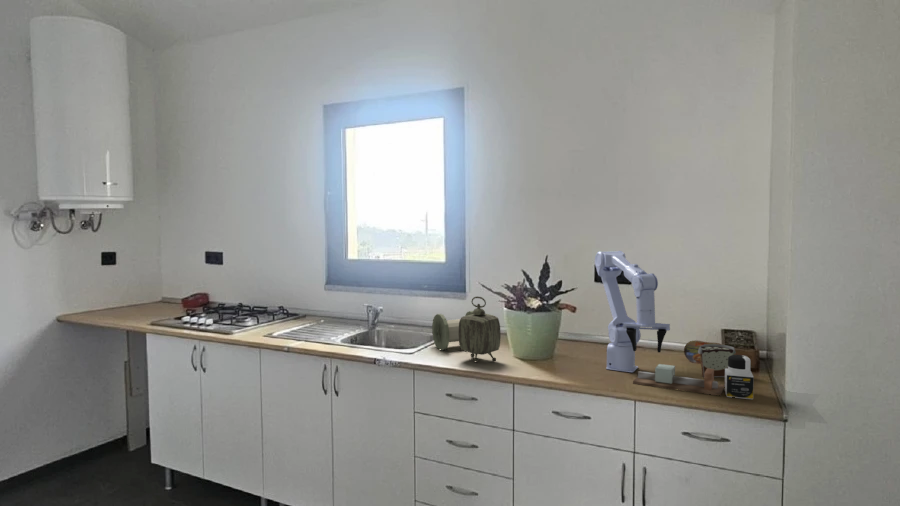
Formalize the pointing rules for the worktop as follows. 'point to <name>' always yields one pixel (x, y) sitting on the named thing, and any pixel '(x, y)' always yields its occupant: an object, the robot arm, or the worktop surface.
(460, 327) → the tabletop clock
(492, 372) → the worktop surface
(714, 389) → the rail board
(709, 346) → the food container
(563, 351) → the worktop surface
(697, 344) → the tin
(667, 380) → the pale green block
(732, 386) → the medicine bottle
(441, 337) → the spool
